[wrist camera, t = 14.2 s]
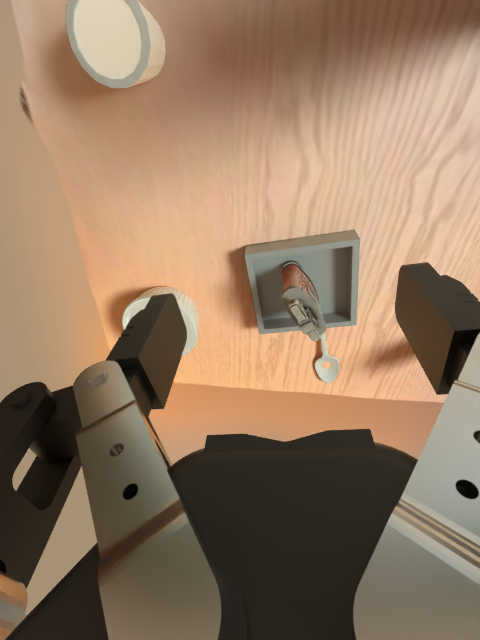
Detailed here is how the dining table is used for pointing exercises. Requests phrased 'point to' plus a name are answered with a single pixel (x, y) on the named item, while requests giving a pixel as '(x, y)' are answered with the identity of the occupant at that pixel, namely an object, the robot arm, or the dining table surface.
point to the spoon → (329, 373)
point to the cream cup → (115, 41)
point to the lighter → (302, 299)
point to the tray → (322, 266)
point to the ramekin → (184, 304)
